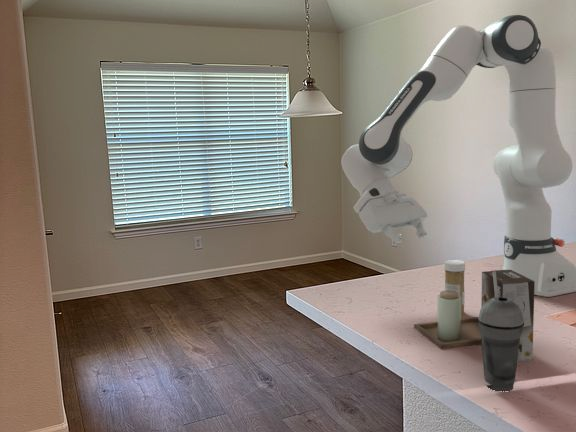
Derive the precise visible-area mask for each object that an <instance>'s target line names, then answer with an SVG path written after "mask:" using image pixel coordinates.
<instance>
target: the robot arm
mask: <svg viewBox="0 0 576 432" xmlns="http://www.w3.org/2000/svg"><path fill="white" fill-rule="evenodd" d="M541 44H542V42H541V39H540V37H539V32H538V29H537V26H536V24H535V22H534V21H533V20H532V19H531V18H529V17H528V16H525V15H521V14H512V15H508V16H505V17H503V18H501V19H498V20H496V21H493V22H492V23H490V24H488V26H486V27H484V28H483V29H481V30H477V29H475V28H473V27H472V26H469V25H465V24H464V25H457V26H455V27H453V28H451V29H450V30H449V31H448V32H447V33H446V34H445V36H444V37H442V39H441V40H440V42H438V44H437V45H436V47H435V48H433V51H432V52H431V53H430V55H429V56H428V57H427V59H426V61H425V63H423V65H422V66H421V68H420V69H419V70H418V71H417V72H416V73H415V74H414V75H412V76H411V77H410V79H408V80H407V82H406V83H405V84H404V86H403V87H402V88H401V89H400V90H399V92H398V93H397V94H396V95H395V97H394V98H393V99H392V101H391V102H390V103H389V105H388V106H387V107H386V109H385V110H384V111H383V112H382V113H381V115H380V116H378V118H376V119H375V120H374V121H373V122H371V123H370V124H369V125H368V126H366V127H365V128H364V129H363V130H362V132H361V134H360V137H359V140H358V143H357V144H353V145H351V146H350V147H348V148H347V149H346V151H345V152H344V153H343V155H342V157H341V159H340V160H341V168H342V171H343V172H344V174H345V177H346V178H347V179H348V181H349V182H350V184H351V186H352V187H353V188H354V189H356V190H357V191H358V193H359V196H360V198H358V200H357V201H356V203H355V204H354V205H353V210H354V212H355V213H356V214H358V217H359V219H360V220H361V222H362V223H363V225H364V226H365V228H366V229H367V230H368V231H369V232H371V233H372V234H375V233H376V234H377V233H383V234H384V235H386V237H388V238H390V239H391V240H392V241H393V242H394V243H395V244H401V243H402V242H403V240H404V238H403V237H402V234H401V233H397V232H396V231H395V230H397V229H400V228H405V227H410V226H412V227H413V228H414V229H416V233H415V235H416V236H417V237H418V239H422V238H425V237H426V236H427V231H426V230H425V228H424V224H423V222H424V221H425V220H426V218H427V217H428V213H427V210H425V209H424V207H423V206H422V205H421V204H420V203H419V202H418V201H417V200H416V199H415V198H414V197H412V196H410V195H406V194H405V193H401V194H400V191H399V190H398V189H397V187H396V186H395V184H394V183H393V182H392V180H391V178H393V177H394V176H397V175H399V174H400V173H402V172H403V171H404V170H406V169H407V168H408V167H409V165H410V164H411V162H412V159H413V149H412V147H411V146H410V144H409V143H408V142H407V141H406V139H404V138H403V137H402V132H403V130H404V128H405V127H406V126H407V125H408V123H409V122H410V121H411V119H412V118H413V117H414V115H415V114H416V113H417V111H418V110H419V109H420V108H421V106H422V105H424V104H425V103H427V102H429V101H434V102H441V101H447V100H449V99H451V98H452V97H453V96H454V95H455V94H456V93H457V92H458V91H459V90H460V88H461V87H462V86H463V85H464V83H465V81H466V80H467V78H468V77H469V75H470V74H471V72H472V70H473V69H474V68H475V66H479V67H481V68H485V69H494V68H498V67H502V66H504V68H505V69H506V72H507V73H508V74H507V75H508V79H509V83H508V84H509V85H508V86H509V87H508V92H509V93H508V123H509V126H511V128H512V129H513V131H514V134H515V137H516V140H517V141H516V143H517V144H512V145H509V146H506V147H504V148H502V149H501V150H500V151H498V152H497V153H496V154H495V156H494V159H493V164H492V166H493V167H492V168H493V170H494V173H495V175H496V176H497V177H498V180H499V182H500V185H501V190H502V193H503V198H504V203H505V216H506V217H505V218H506V219H505V221H506V223H505V224H506V227H505V235H504V238H503V239H504V240H503V254H504V260H503V266H502V270H512V271H514V272H517V273H519V274H521V275H523V276H525V277H527V278H529V279H531V280H533V281H535V286H534V296H539V297H547V298H549V297H550V298H552V297H555V296H561V295H565V294H570V293H575V292H576V265H575V264H574V262H572V261H571V260H569V259H568V258H567V257H565V256H564V255H563V254H561V253H560V252H559V251H557V248H556V247H561V248H562V247H564V245H565V243H566V242H565V240H564V239H561V238H557V237H556V238H553V237H551V236H552V235H551V234H552V208H551V206H550V204H549V202H547V199H546V197H545V194H544V191H543V189H547V188H552V187H558V186H560V185H563V184H564V183H565V182H567V181H568V180H569V178H570V176H571V174H572V172H573V159H572V157H571V156H570V154H569V153H568V152H567V151H566V149H565V148H564V146H563V144H562V141H561V138H560V135H559V131H558V128H557V127H558V125H557V121H556V97H557V96H556V94H557V92H556V90H557V89H556V87H557V77H556V67H555V59H554V56H553V53H552V52H551V50H550V49H549V48H546V47H543V46H542V45H541Z"/></svg>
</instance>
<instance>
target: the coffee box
mask: <svg viewBox="0 0 576 432" xmlns="http://www.w3.org/2000/svg"><path fill="white" fill-rule="evenodd" d="M494 271H495V272H496V279H497V288H498V297H505V298H508V299H510V300H512V301H513V302H514V303H515V304H517V306H518V307H519V308H520V310H521V312H522V315H523V321H524V326H523V331H522V335H521V337H520V343H519V351H518V359H517V363H518V362H526V361H532V360H533V358H534V356H533V355H534V353H533V351H534V349H533V348H534V322H535V320H534V319H535V317H534V314H535V312H534V311H535V310H534V309H535V295H534V286H535V281H533V280H531V279H529V278H527V277H525V276H523V275H521V274H519V273H517V272H514V271H512V270H503V269H499V270H497V269H495V270H489V271H487V270H486V271H481V305H480V306H481V307H482V306H483V304H484V303H485V302H487V301H488V300H489V299H492V298H495V291H494V281H493V272H494ZM481 307H480V308H481ZM480 345H481V346H482V341H481V344H480Z"/></svg>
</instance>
